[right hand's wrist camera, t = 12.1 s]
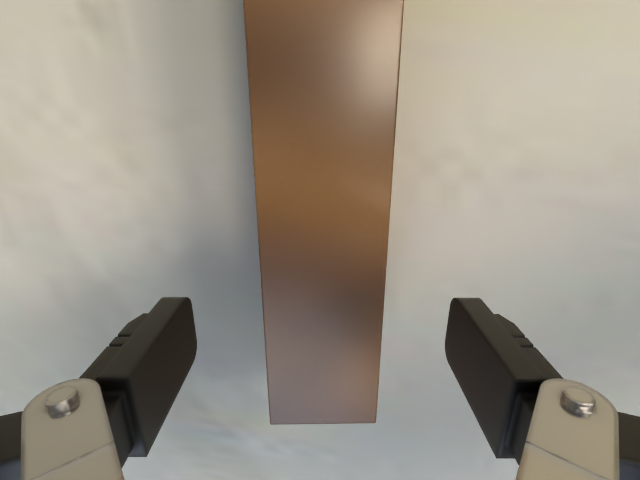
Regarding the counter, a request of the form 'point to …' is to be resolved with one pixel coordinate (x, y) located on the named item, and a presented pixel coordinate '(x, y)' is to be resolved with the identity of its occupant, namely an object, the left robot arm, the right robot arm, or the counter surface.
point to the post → (323, 197)
